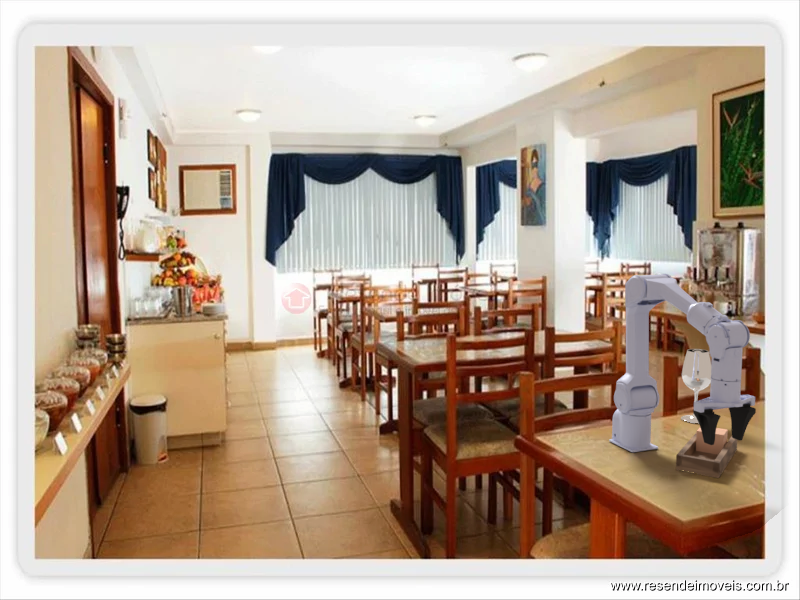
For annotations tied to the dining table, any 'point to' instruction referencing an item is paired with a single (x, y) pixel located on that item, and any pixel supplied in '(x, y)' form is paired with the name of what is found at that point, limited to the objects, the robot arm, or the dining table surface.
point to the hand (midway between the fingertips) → (723, 441)
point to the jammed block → (718, 444)
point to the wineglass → (696, 374)
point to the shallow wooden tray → (705, 458)
